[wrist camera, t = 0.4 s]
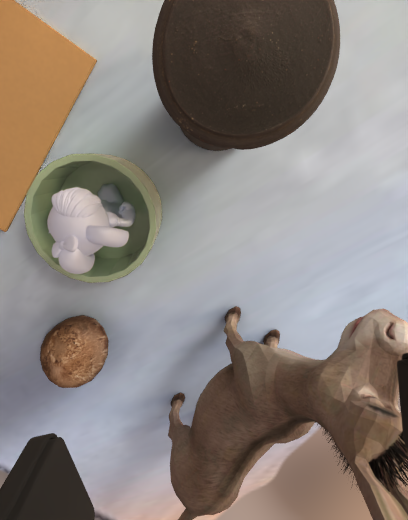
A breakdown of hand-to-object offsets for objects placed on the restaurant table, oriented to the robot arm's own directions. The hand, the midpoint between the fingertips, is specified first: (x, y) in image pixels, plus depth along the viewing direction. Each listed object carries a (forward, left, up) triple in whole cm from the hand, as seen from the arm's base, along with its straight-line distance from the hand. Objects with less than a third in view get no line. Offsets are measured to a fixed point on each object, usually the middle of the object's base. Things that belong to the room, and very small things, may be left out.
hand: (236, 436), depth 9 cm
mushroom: (+19, -5, -29) cm, 35 cm away
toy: (+12, +12, -29) cm, 34 cm away
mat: (+2, -24, -29) cm, 38 cm away
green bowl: (+4, -10, -29) cm, 31 cm away
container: (-11, -6, -29) cm, 32 cm away
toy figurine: (+4, -10, -29) cm, 31 cm away
